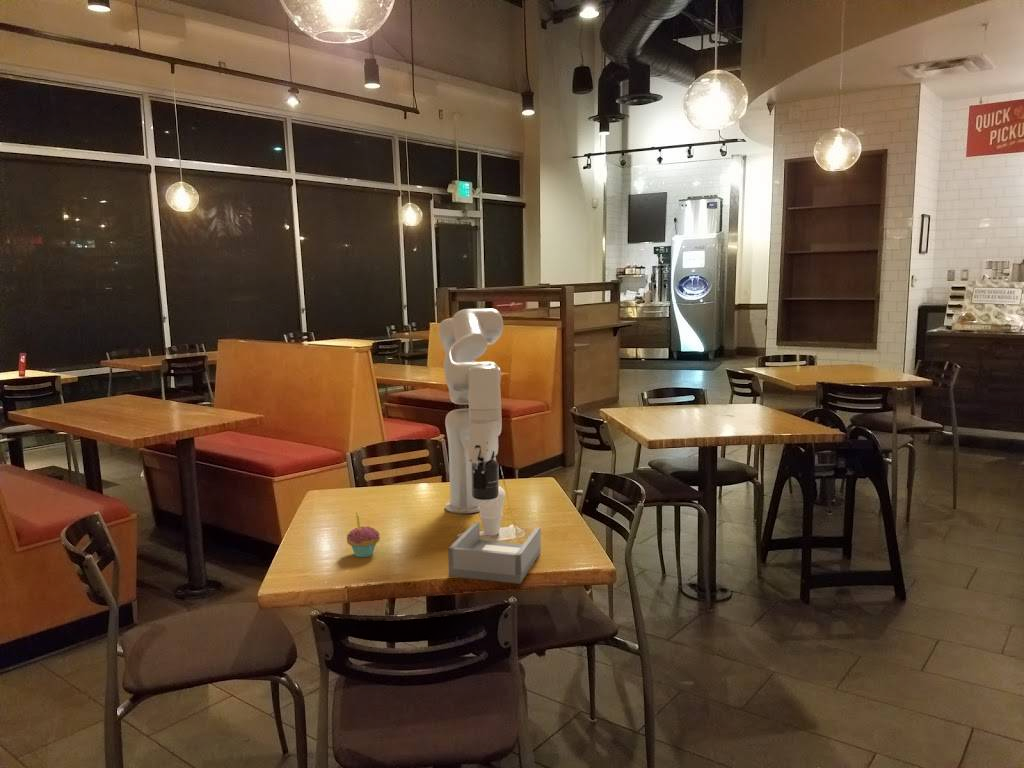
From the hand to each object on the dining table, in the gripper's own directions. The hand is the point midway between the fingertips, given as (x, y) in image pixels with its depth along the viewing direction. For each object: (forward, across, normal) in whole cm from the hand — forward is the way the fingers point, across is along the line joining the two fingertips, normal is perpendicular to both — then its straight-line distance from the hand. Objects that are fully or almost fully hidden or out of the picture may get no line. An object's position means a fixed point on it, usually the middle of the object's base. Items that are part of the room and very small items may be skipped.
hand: (485, 484), depth 182 cm
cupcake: (+20, +4, -33) cm, 39 cm away
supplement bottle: (+4, 0, 0) cm, 4 cm away
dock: (+20, +2, +3) cm, 20 cm away
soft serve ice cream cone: (+20, -19, -5) cm, 28 cm away
